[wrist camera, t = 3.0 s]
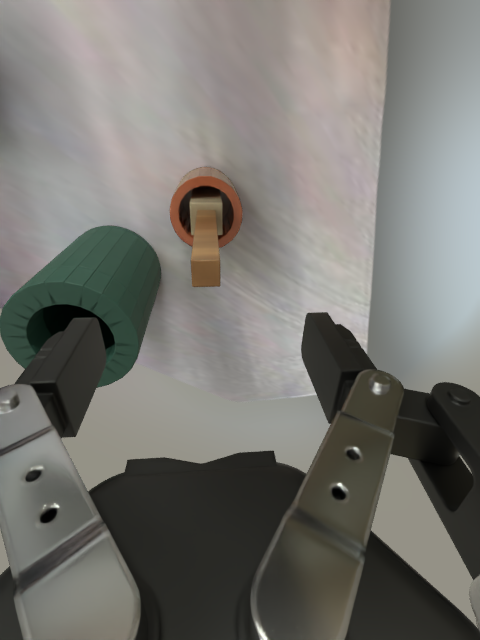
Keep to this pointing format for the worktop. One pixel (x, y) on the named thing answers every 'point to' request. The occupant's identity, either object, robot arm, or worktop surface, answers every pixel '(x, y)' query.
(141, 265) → the green tube sleeve
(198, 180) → the cup
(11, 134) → the worktop surface
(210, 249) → the brush
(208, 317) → the worktop surface
